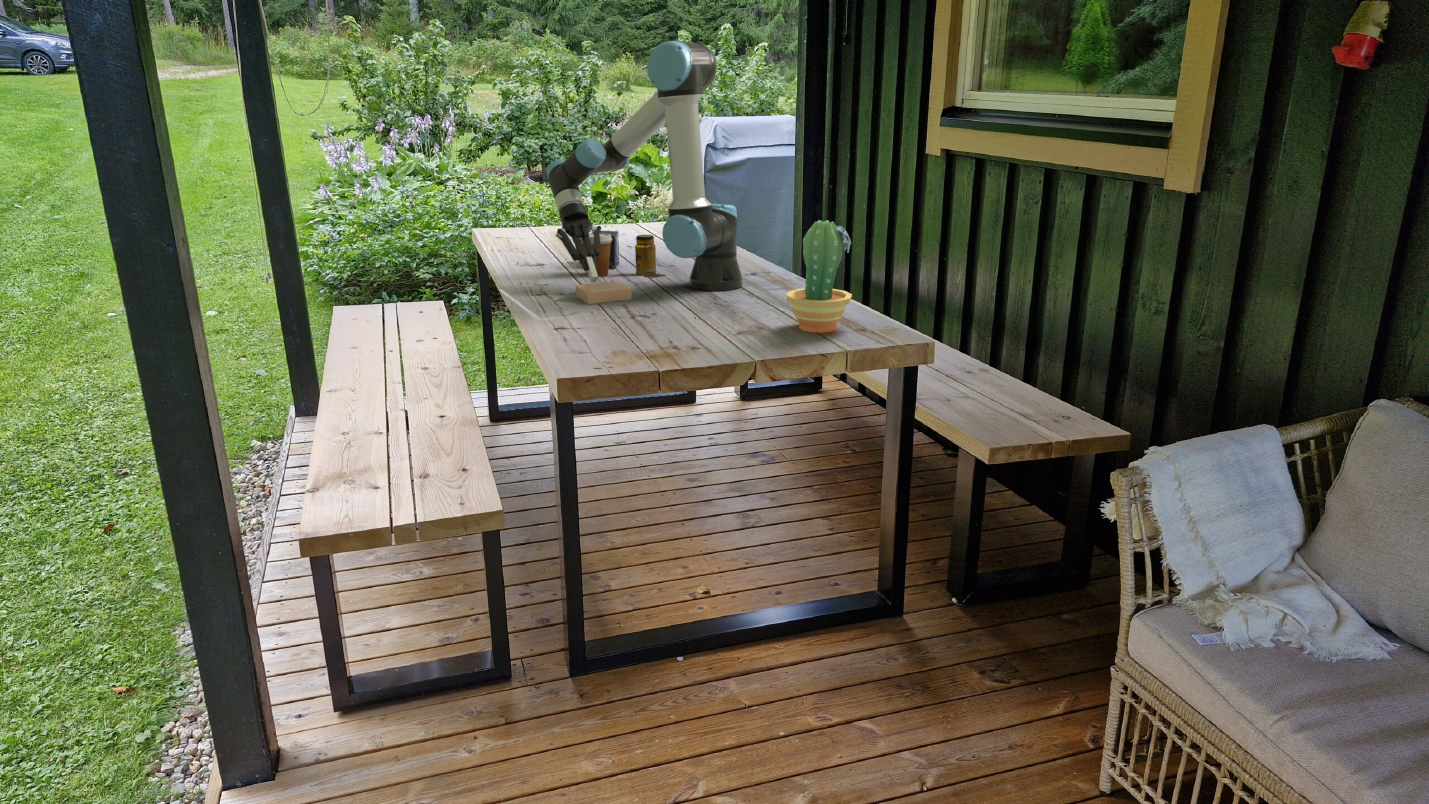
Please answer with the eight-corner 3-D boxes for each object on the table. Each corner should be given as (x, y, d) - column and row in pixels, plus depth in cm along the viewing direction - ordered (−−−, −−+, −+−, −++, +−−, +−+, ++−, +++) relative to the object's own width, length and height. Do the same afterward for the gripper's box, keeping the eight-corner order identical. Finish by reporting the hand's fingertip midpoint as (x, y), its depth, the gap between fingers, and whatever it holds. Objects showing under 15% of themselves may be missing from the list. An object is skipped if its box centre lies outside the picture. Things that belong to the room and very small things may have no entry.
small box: (616, 269, 287) (615, 235, 283) (595, 269, 287) (594, 235, 283) (620, 263, 297) (619, 230, 293) (600, 263, 297) (598, 230, 293)
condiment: (630, 275, 278) (629, 235, 274) (653, 272, 283) (653, 232, 279) (643, 279, 272) (642, 238, 268) (667, 275, 277) (666, 235, 273)
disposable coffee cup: (611, 278, 274) (610, 237, 270) (579, 278, 274) (577, 237, 270) (615, 271, 283) (613, 232, 279) (584, 271, 283) (582, 232, 279)
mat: (646, 294, 252) (646, 292, 252) (620, 308, 237) (620, 305, 237) (583, 290, 258) (583, 287, 258) (554, 302, 243) (554, 300, 242)
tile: (575, 285, 245) (587, 292, 237) (617, 281, 250) (631, 288, 242) (575, 297, 246) (588, 304, 238) (617, 292, 252) (631, 300, 243)
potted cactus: (836, 339, 208) (840, 227, 200) (774, 331, 215) (776, 222, 207) (860, 324, 220) (865, 219, 212) (801, 317, 228) (804, 214, 219)
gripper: (591, 216, 264) (614, 285, 255) (546, 219, 258) (568, 289, 249) (596, 200, 257) (620, 269, 249) (551, 202, 252) (573, 273, 243)
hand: (594, 279), depth 249 cm, fingers closed
